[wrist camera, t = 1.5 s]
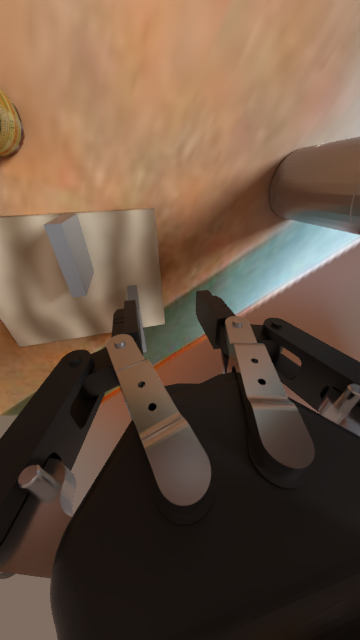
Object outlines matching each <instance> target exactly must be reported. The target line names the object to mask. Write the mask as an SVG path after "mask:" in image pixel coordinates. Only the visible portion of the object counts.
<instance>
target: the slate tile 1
mask: <svg viewBox="0 0 360 640" xmlns="http://www.w3.org/2000/svg"><path fill="white" fill-rule="evenodd" d="M44 227H45V230H46V232H47V235H48V237H49V240H50V243H51V245H52V248H53V250H54V253H55V255H56V258H57V260H58V263H59V265H60V268H61V270H62V273H63V275H64V278H65V280H66V283H67V286H68V288H69V291H70V293H71V296H72V298H73V297H81V296H86V295H87V292H88V289H89V286H90V283H91V281H92V278H93V275H94V269H93V266H92V262H91V259H90V255H89V252H88V249H87V245H86V242H85V238H84V235H83V232H82V228H81V225H80V222H79V218H78V215H77V213H76V214H63V215H61V216H59V217H58V218H56V219H54V220H52V221H50V222H48V223H46V224H44Z"/></svg>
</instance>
